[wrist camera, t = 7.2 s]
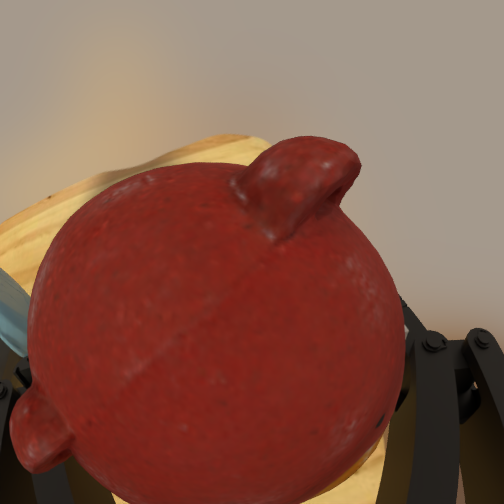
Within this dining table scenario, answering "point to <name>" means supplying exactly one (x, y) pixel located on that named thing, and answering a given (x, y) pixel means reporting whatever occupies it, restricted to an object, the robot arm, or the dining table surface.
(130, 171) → the dining table surface
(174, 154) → the dining table surface
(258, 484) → the stacking bear
